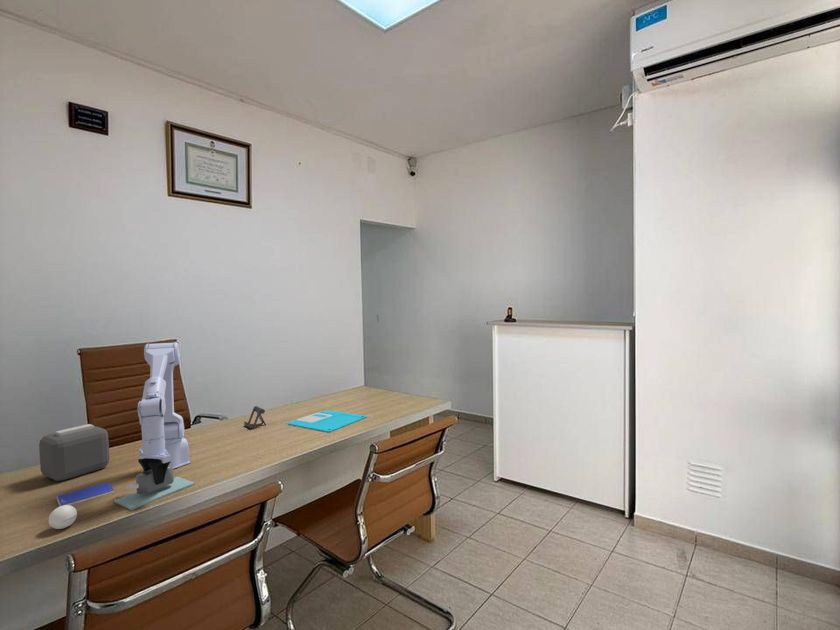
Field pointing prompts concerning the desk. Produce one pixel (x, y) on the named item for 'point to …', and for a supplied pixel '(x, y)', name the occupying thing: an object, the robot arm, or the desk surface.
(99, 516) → the desk surface
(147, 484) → the plug
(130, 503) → the mat
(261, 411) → the portable electronic device stand
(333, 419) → the square teal disk
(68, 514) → the white egg
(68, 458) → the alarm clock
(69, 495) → the hard drive
